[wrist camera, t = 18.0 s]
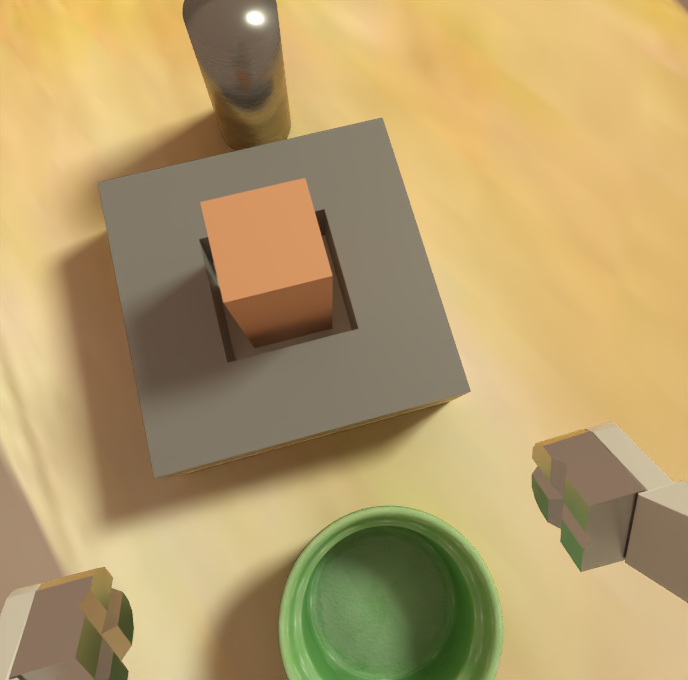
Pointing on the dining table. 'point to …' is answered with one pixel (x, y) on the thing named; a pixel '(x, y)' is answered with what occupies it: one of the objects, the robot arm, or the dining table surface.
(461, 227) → the dining table surface
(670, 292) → the dining table surface
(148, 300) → the holder block
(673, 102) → the dining table surface
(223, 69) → the cylinder
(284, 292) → the square bit
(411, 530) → the ramekin
